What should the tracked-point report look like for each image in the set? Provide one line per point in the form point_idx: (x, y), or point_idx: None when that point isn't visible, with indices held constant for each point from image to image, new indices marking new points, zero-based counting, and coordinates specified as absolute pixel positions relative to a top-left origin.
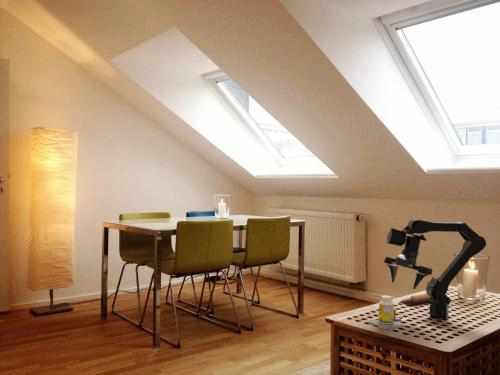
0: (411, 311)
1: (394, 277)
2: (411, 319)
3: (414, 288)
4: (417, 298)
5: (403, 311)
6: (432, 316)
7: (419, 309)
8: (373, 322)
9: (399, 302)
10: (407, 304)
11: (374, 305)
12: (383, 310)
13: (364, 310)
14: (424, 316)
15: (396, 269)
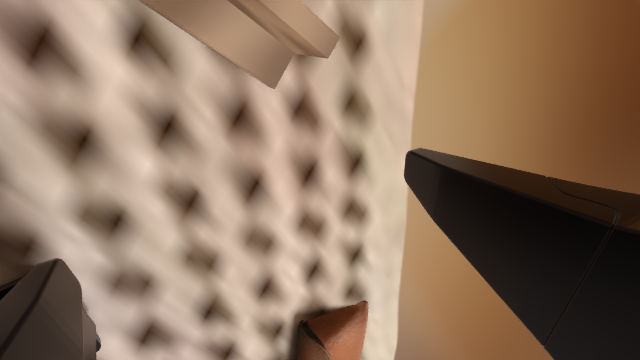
0: (232, 256)
1: (460, 207)
2: (50, 87)
3: (30, 274)
4: None
5: (256, 212)
6: (13, 287)
7: (238, 323)
8: None
9: (363, 303)
10: (325, 316)
11: None
12: None
13: (393, 12)
14: (88, 253)
15: (583, 347)
